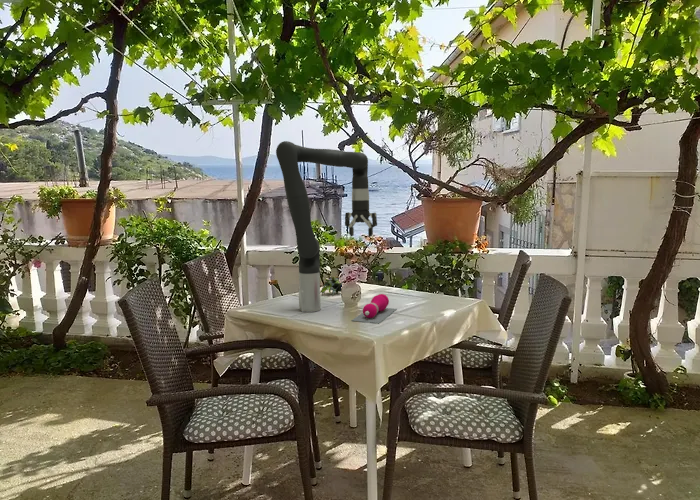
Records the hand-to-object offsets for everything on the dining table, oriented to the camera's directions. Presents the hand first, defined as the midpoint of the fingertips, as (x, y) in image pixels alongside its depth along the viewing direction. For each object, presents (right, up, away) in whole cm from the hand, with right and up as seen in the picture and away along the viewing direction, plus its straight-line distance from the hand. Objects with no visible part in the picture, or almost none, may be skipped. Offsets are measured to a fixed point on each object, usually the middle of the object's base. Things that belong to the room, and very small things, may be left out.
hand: (361, 236), depth 226 cm
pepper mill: (+10, -29, +3) cm, 30 cm away
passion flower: (-13, -29, +36) cm, 48 cm away
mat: (+6, -34, -6) cm, 35 cm away
